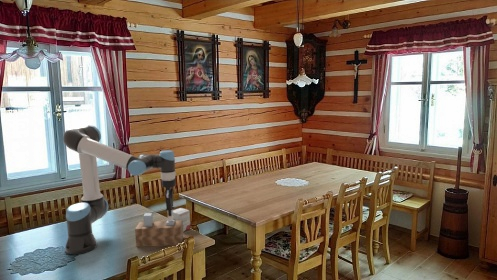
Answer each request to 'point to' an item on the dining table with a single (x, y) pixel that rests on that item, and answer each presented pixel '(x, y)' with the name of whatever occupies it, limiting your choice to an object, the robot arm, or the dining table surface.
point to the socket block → (159, 234)
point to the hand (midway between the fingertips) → (170, 220)
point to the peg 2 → (170, 223)
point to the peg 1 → (148, 220)
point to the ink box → (182, 217)
